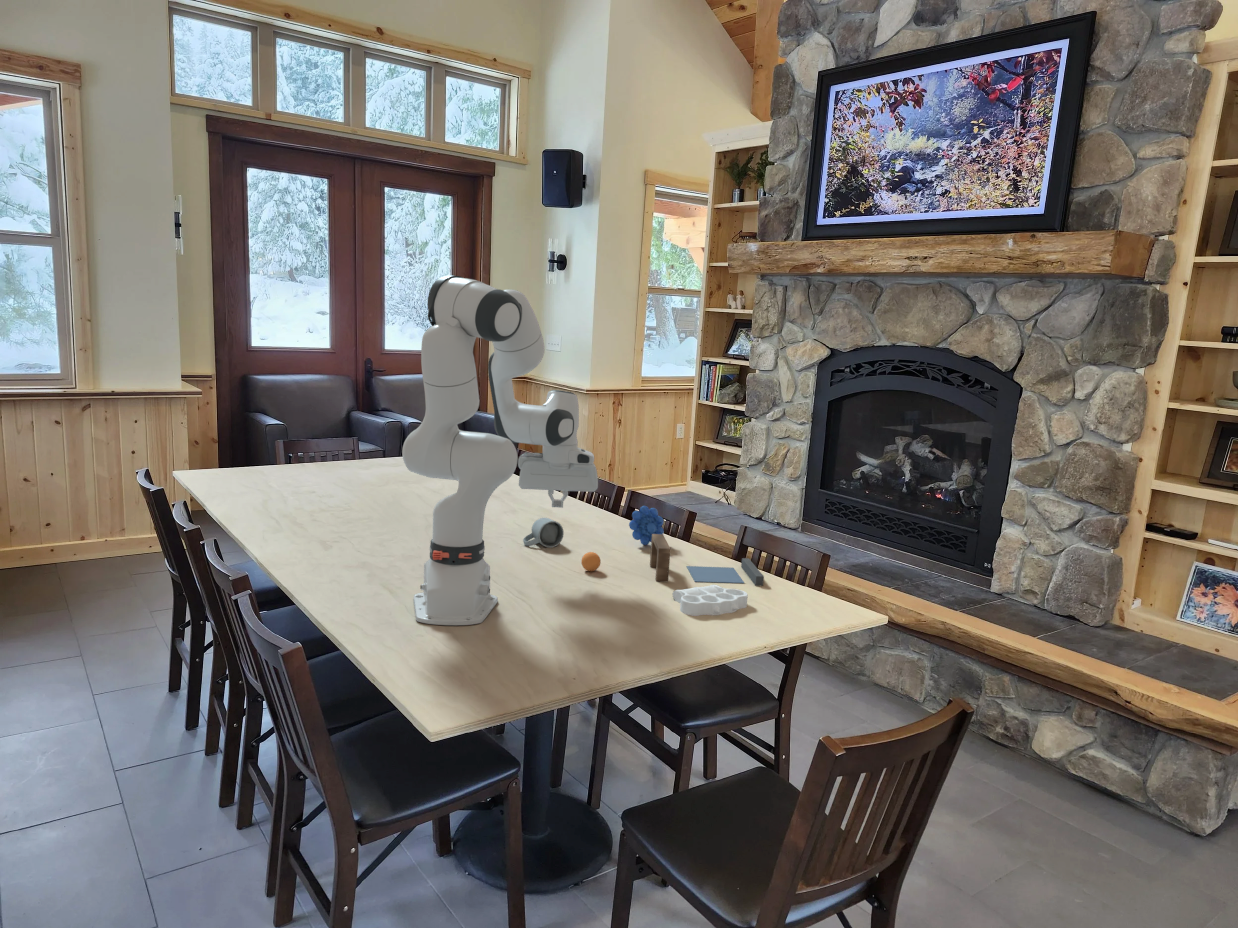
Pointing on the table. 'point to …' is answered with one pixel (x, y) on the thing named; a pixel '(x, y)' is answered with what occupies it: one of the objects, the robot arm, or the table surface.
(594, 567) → the ball
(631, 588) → the table surface
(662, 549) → the bridge
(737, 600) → the white paint palette
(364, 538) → the table surface
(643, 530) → the blue flower
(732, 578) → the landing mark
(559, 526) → the ceramic mug
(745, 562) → the rail
